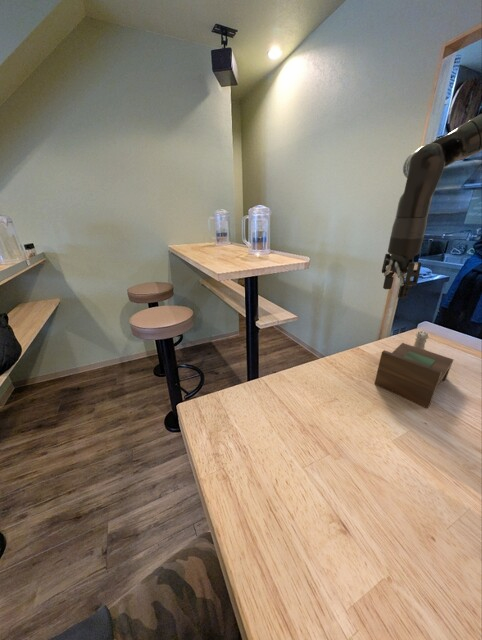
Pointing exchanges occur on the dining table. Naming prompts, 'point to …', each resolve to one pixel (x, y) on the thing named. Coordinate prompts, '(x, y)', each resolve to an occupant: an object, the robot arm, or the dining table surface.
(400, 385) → the wooden stand
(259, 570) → the dining table surface
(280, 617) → the dining table surface
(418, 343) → the rook chess piece
